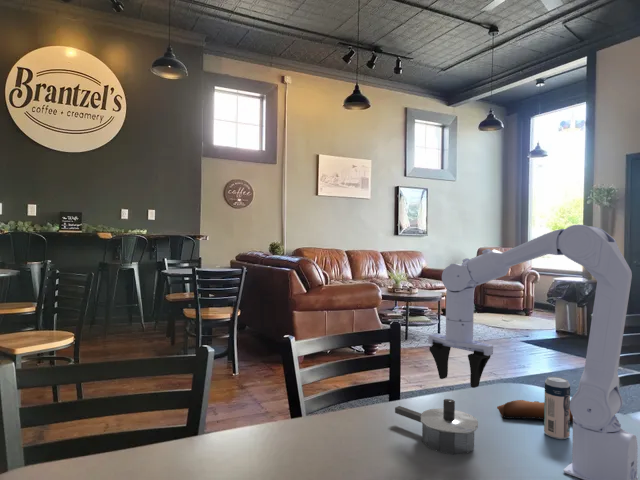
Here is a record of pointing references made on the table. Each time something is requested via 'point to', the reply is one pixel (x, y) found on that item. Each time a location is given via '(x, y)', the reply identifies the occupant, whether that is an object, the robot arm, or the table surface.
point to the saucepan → (440, 436)
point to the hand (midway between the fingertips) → (458, 382)
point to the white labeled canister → (557, 408)
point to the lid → (449, 419)
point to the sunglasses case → (524, 409)
